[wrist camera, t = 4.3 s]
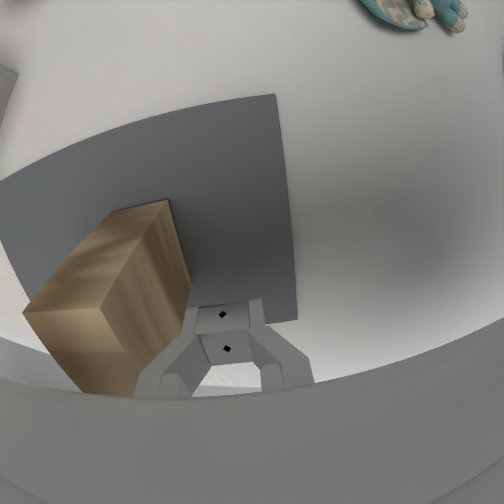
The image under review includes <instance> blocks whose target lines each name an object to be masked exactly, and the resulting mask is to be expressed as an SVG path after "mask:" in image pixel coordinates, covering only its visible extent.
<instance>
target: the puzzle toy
mask: <svg viewBox="0 0 504 504" xmlns="http://www.w3.org/2000/svg"><path fill="white" fill-rule="evenodd" d="M18 75H19V74H18V73H16V72H14V71H12V70H10V69H8V68H5V67H3V66H1V65H0V126H1V122H2V119H3V116H4V113H5V109H6V106H7V104H8V101H9V98H10V95H11V92H12V90H13V87H14V85H15V82H16V80H17V77H18Z"/></svg>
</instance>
